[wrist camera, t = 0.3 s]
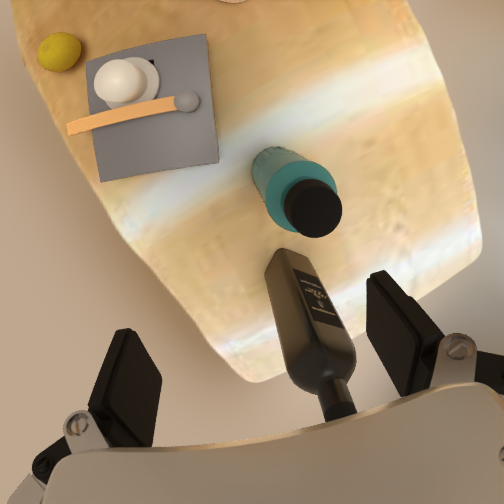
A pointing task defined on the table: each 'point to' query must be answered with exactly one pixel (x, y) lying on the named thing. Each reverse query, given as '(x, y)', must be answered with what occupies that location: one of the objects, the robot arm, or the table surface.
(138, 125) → the dock
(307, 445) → the robot arm
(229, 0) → the white cup
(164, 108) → the hammer
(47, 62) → the lemon
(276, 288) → the wine bottle
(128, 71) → the plug
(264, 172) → the beverage bottle
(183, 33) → the table surface
